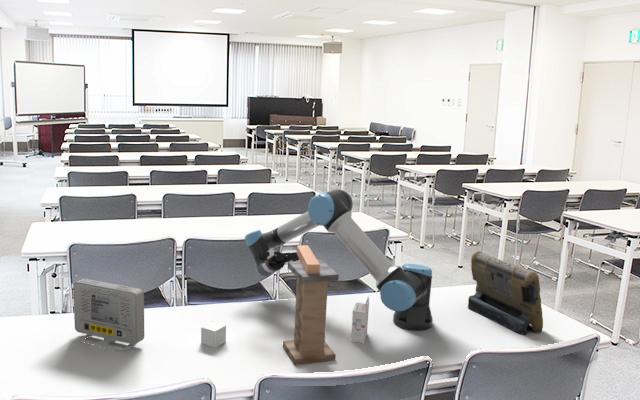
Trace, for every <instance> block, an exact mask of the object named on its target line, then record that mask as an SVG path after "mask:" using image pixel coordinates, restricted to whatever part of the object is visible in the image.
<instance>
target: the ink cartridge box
mask: <svg viewBox="0 0 640 400" xmlns="http://www.w3.org/2000/svg"><path fill="white" fill-rule="evenodd" d="M365 301H366V302H365V303H361V302H355V304H354V307H353V309H352V318H351V320H352V321H351V322H352V323H351V338H350V339H351V340H350V341H351V342H353V343H360V344H364V343H365V341H366V339H367V338H366V337H367V333H368V326H369V325H368V323H369V309H370V299H369V296H367V299H366V300H365Z"/></svg>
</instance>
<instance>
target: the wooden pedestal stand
mask: <svg viewBox="0 0 640 400" xmlns="http://www.w3.org/2000/svg"><path fill="white" fill-rule="evenodd" d="M317 260H318V262H319V264H320V273H316V274H307V272H306V271H305V269H304V267H303V265H302V263H301V261H300V260H298V261H293V262H291V261H290V262H287V269H288V270H290V271H291V273H292V274H293V275H294V276H295V277H296V285H295V287H296V289H295V310H294V312H295V313H294V334H293V335H294V336H293V339H288V340H287V339H286V340H282V347H283V349H284V351H285V352H286V353H287V355H288V357H289V358H290V360H291V361H292V363H293V364H294V366H300V365H306V364H307V365H309V364H314V363H323V362H330V361H336V360H337V359H336V353H335V352H334V350H333V349H332V348H331V346H329V344H328V343H327V342H326V341H325V340H326V324H327V323H326V322H327V321H326V320H327V306H328V305H327V303H328V284H329V282H337V281H339V273H337V272H336V271H335V270H334V269H333V268H332V267H331V266H329V265H328V264H327V263H326V262H324V260H322V259H317Z"/></svg>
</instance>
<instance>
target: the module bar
mask: <svg viewBox="0 0 640 400" xmlns="http://www.w3.org/2000/svg"><path fill="white" fill-rule="evenodd" d="M296 252H297V255H298V257H299V259H300V260H299V261H301V263H302V265H303V267H304V269H305V271H306V272H307V274H316V273H320V264H319V262H318V260H319V259H317V257H316V256H315V255H314V254H315V253H314V252H313V251H312V250H311V248H310V246H309V245H307V244H306V245H304V244H303V245H296Z"/></svg>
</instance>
